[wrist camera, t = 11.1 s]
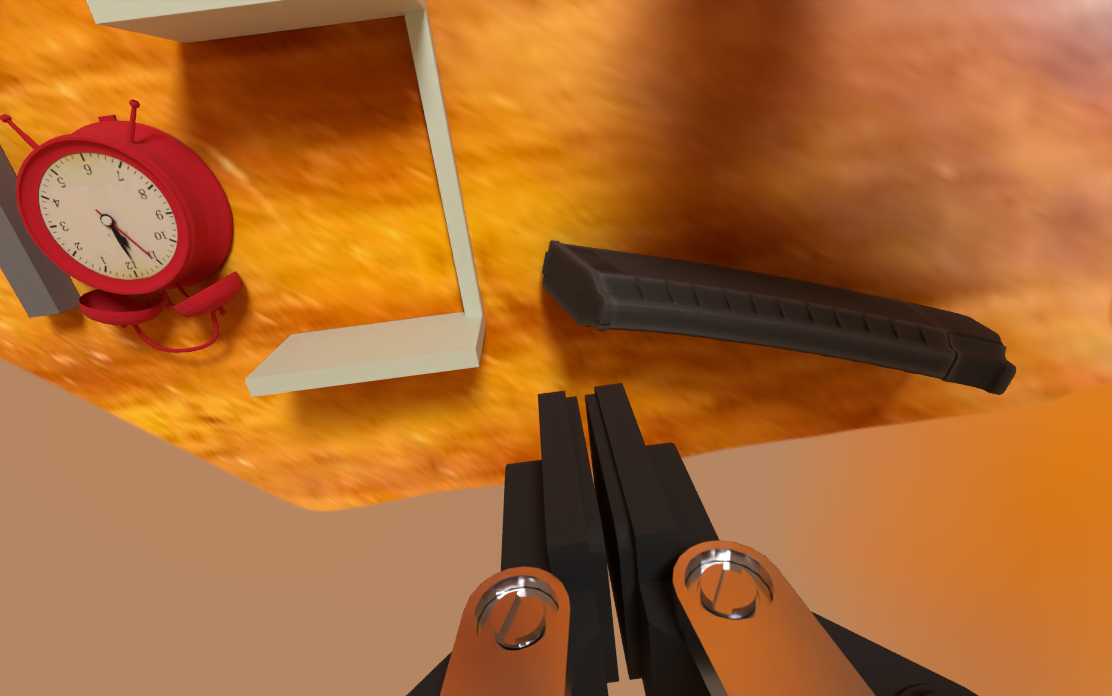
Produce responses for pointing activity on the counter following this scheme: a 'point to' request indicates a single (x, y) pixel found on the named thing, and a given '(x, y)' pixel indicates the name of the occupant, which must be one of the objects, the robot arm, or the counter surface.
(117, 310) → the alarm clock
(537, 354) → the counter surface
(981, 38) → the counter surface
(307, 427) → the counter surface
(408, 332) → the shelf bay
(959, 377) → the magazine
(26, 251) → the rail
